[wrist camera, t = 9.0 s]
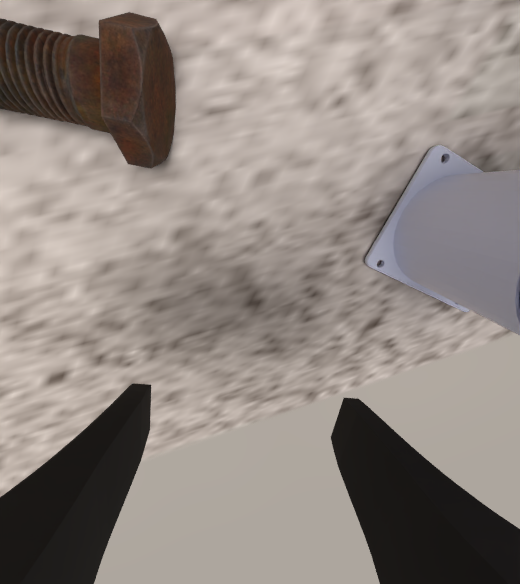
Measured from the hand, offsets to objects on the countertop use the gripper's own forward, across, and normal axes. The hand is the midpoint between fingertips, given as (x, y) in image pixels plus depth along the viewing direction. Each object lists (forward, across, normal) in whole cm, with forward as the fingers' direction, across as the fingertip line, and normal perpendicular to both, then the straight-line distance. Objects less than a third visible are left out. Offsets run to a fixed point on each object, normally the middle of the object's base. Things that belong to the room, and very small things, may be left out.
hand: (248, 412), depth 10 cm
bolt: (+10, +13, -11) cm, 20 cm away
